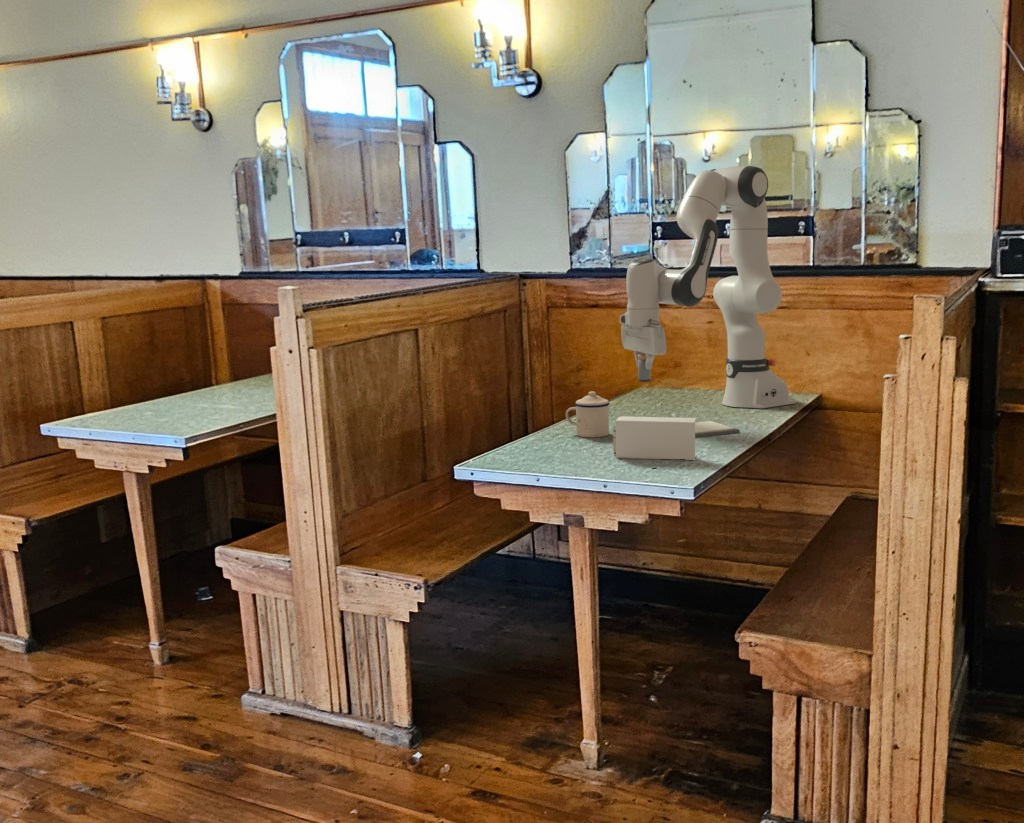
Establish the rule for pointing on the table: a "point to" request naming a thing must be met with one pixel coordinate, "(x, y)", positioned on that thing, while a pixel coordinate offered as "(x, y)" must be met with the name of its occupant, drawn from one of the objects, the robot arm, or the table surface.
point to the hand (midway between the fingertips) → (644, 368)
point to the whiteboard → (713, 429)
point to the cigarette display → (654, 438)
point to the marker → (643, 369)
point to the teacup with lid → (591, 416)
